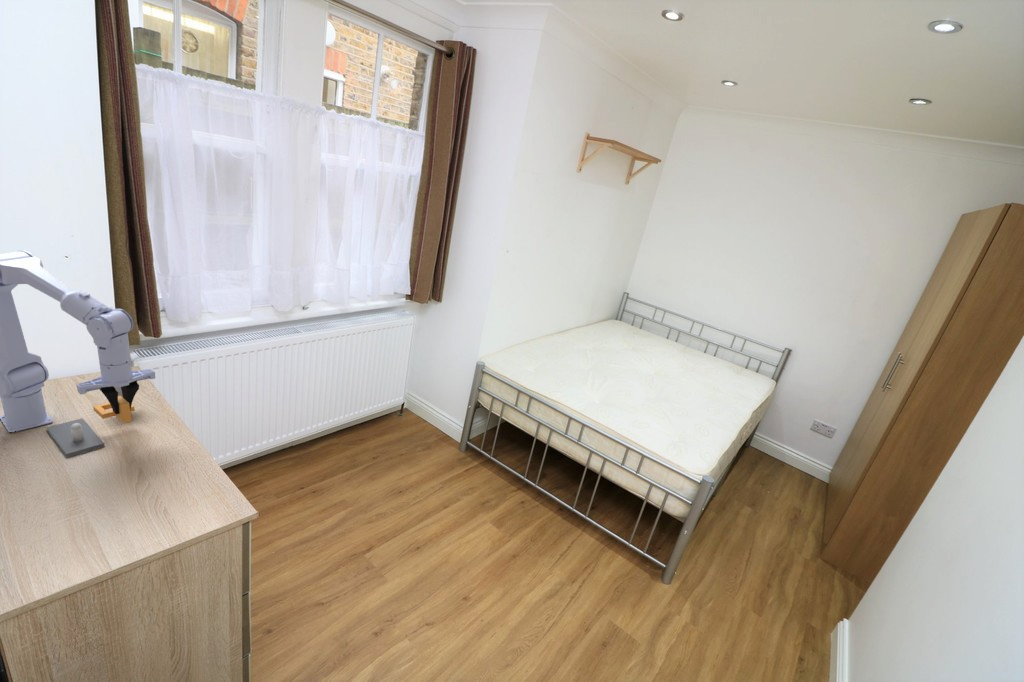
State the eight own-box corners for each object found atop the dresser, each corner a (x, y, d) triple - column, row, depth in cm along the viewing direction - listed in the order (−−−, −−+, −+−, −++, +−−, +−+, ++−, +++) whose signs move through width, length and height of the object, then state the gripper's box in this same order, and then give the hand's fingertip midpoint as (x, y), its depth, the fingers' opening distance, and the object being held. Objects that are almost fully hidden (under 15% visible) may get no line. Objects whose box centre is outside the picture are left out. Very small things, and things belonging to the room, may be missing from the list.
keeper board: (46, 430, 117) (43, 411, 116) (83, 421, 123) (80, 403, 121) (66, 457, 110) (63, 437, 108) (104, 446, 116) (101, 427, 114)
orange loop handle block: (93, 410, 118) (90, 392, 116) (125, 403, 123) (122, 385, 122) (111, 426, 112) (108, 407, 110) (143, 418, 117) (140, 399, 115)
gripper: (81, 374, 103) (89, 427, 107) (158, 359, 114) (163, 408, 119) (70, 363, 106) (78, 415, 111) (146, 350, 118) (151, 397, 122)
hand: (121, 411), depth 115 cm, fingers closed on orange loop handle block
